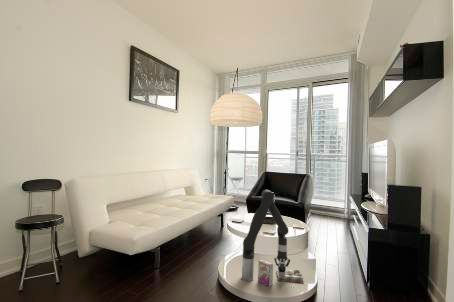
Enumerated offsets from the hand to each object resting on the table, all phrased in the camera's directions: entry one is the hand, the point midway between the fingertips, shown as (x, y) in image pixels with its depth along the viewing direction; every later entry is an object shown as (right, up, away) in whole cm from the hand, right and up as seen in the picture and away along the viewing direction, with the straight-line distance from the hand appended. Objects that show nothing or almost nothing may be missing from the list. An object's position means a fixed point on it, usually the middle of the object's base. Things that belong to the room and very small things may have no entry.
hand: (281, 270), depth 195 cm
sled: (0, -5, +3) cm, 6 cm away
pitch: (+7, -8, +4) cm, 11 cm away
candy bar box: (-15, -6, -8) cm, 18 cm away
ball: (+9, -4, +6) cm, 11 cm away
